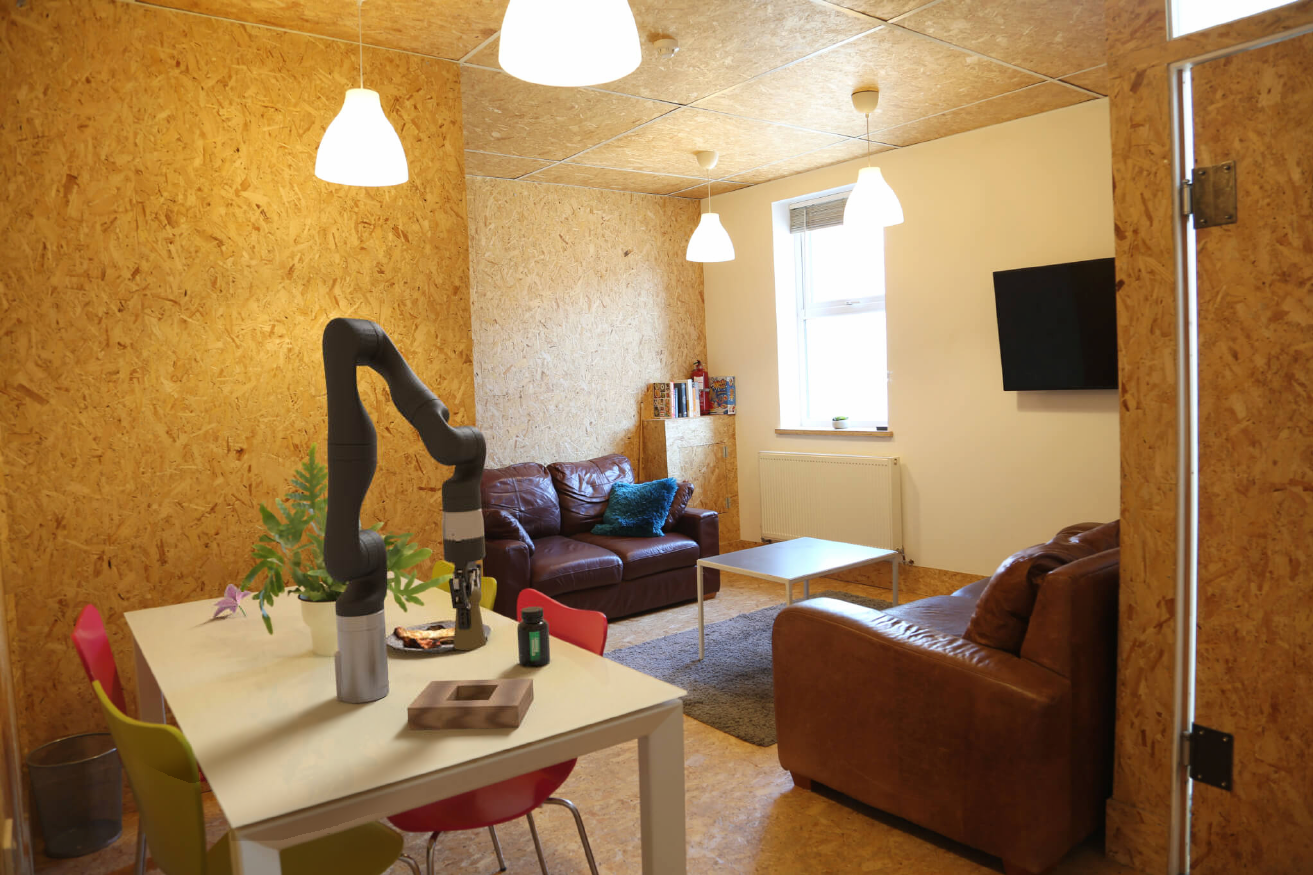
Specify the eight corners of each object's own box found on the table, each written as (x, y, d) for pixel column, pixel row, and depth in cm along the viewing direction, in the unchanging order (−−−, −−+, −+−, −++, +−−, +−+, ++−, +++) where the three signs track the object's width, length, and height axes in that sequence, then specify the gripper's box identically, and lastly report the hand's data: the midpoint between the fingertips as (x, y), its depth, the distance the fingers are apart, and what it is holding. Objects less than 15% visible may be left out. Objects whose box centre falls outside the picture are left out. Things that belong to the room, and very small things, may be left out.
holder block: (408, 729, 153) (407, 707, 153) (432, 700, 167) (431, 680, 167) (518, 727, 152) (517, 705, 152) (533, 698, 166) (532, 678, 166)
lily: (260, 611, 249) (244, 583, 249) (267, 602, 240) (250, 573, 240) (219, 633, 241) (202, 604, 242) (225, 624, 232) (207, 594, 233)
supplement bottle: (541, 668, 184) (539, 614, 183) (513, 666, 186) (510, 612, 185) (555, 658, 190) (553, 605, 190) (528, 656, 192) (525, 604, 192)
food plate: (383, 662, 193) (383, 646, 193) (385, 635, 215) (385, 621, 215) (495, 651, 200) (495, 636, 200) (486, 626, 222) (486, 613, 222)
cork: (453, 651, 155) (450, 591, 154) (452, 642, 161) (449, 584, 160) (487, 647, 157) (484, 588, 156) (485, 638, 162) (482, 581, 162)
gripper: (454, 528, 165) (459, 615, 166) (431, 541, 151) (437, 636, 152) (492, 527, 165) (497, 614, 166) (473, 540, 150) (478, 635, 151)
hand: (468, 624), depth 159 cm, fingers closed on cork, 4 cm apart
